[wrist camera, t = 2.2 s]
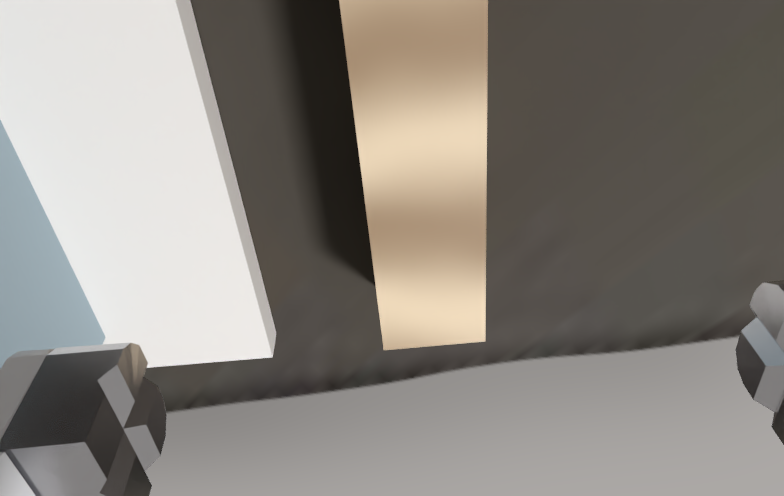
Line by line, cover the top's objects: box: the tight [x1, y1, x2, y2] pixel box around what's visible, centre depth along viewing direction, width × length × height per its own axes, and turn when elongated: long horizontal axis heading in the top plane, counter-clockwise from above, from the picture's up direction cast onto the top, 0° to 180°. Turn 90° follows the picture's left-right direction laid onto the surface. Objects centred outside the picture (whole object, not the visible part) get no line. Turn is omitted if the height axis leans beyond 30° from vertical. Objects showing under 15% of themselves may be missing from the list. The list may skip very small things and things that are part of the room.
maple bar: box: [339, 0, 488, 350], centre depth 19 cm, size 24×4×4 cm, turn 5°
